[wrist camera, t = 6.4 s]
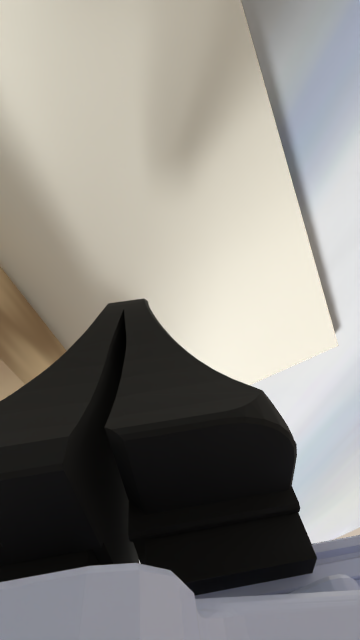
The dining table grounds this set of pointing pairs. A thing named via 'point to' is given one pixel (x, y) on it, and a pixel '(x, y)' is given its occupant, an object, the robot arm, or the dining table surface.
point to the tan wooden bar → (22, 340)
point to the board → (153, 180)
